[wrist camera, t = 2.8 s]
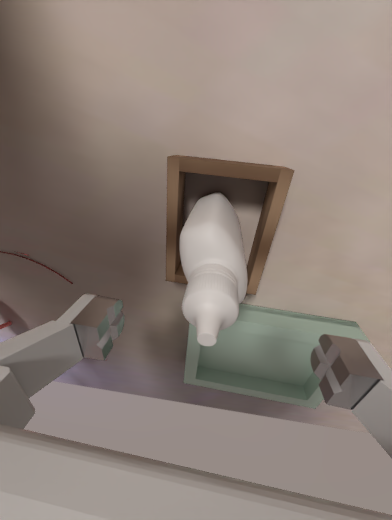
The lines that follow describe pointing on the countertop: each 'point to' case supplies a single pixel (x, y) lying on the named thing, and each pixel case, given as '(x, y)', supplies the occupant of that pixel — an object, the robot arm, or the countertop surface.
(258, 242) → the walnut rectangular frame
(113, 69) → the countertop surface
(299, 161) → the countertop surface
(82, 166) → the countertop surface
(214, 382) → the tray
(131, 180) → the countertop surface
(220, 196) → the eye dropper bottle
